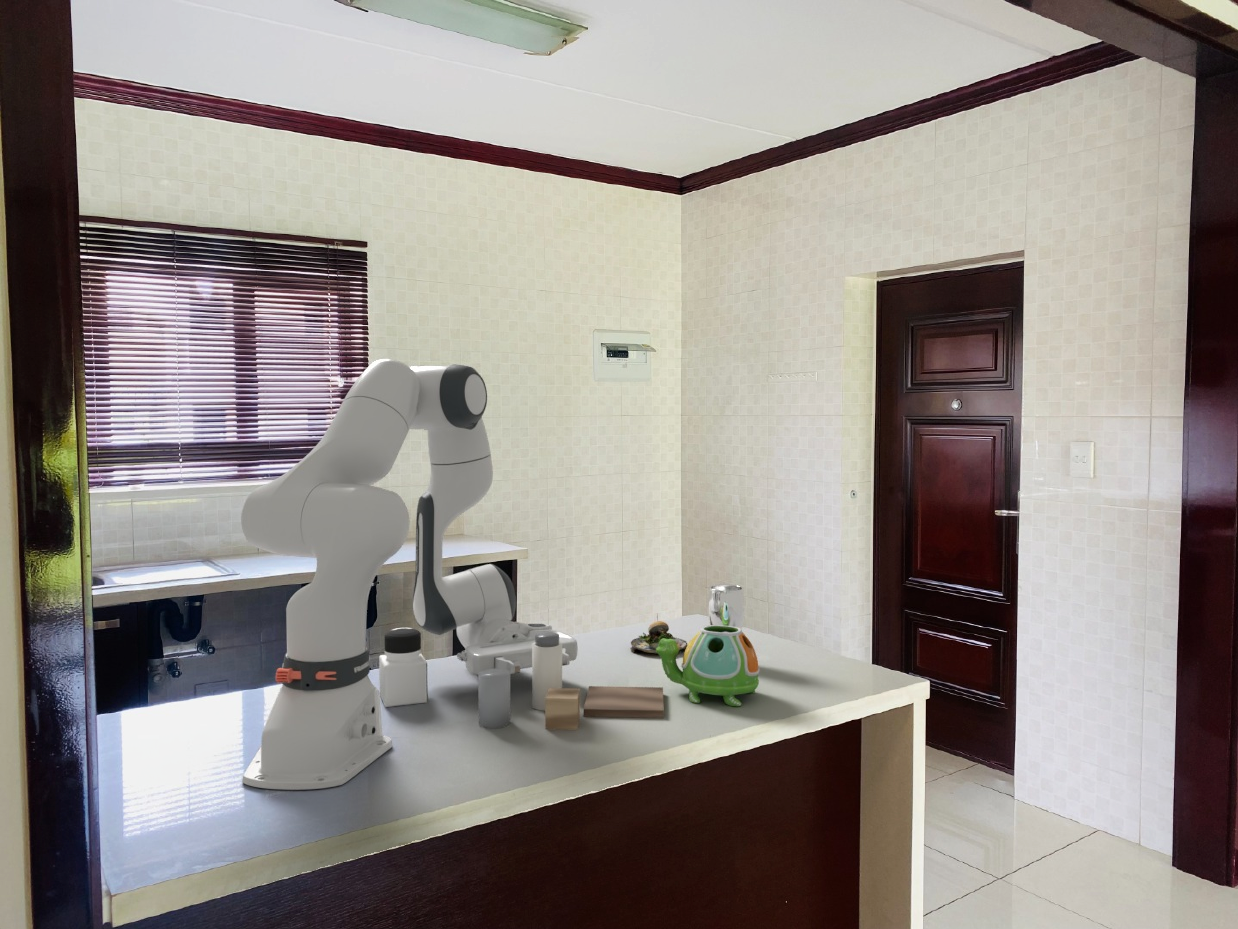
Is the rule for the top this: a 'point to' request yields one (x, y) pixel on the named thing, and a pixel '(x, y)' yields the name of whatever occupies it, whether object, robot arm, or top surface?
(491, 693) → the grey cylinder
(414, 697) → the medicine bottle
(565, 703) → the oak block
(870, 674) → the top surface
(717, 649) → the turtle holder
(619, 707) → the walnut board
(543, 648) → the plastic bottle
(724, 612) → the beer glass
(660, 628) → the burger
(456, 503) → the robot arm
